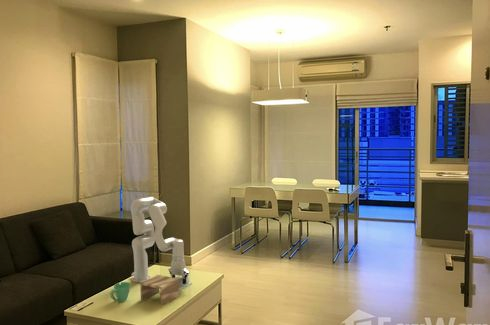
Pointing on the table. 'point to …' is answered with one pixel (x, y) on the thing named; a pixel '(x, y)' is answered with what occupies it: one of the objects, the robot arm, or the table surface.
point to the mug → (120, 291)
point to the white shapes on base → (181, 285)
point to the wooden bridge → (166, 286)
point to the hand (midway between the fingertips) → (179, 282)
